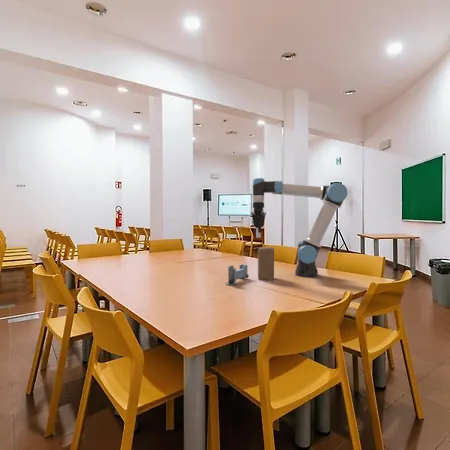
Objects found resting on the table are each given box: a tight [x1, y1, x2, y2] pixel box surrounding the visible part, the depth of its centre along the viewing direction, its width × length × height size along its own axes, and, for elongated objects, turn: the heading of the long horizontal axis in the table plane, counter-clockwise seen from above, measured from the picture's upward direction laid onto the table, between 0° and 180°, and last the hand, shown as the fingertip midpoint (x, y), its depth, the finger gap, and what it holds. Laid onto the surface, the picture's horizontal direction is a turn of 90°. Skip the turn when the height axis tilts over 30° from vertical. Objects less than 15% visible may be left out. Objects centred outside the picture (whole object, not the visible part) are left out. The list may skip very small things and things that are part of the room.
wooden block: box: [257, 246, 275, 281], centre depth 201 cm, size 10×10×20 cm
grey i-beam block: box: [234, 264, 249, 283], centre depth 195 cm, size 17×3×8 cm, turn 149°
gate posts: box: [225, 263, 246, 286], centre depth 194 cm, size 6×23×11 cm, turn 157°
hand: (258, 237), depth 206 cm, fingers closed
